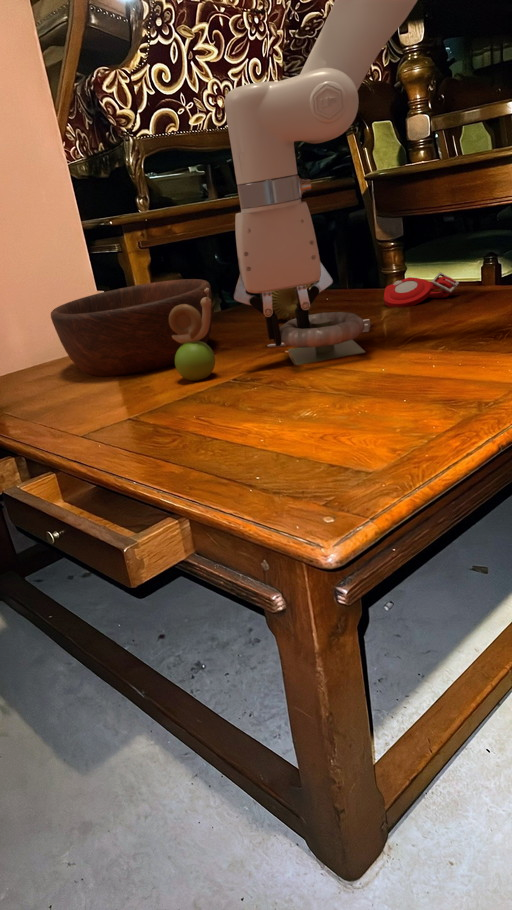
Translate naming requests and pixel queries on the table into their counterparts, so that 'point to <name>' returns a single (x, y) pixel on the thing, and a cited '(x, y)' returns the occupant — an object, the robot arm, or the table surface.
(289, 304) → the sculpture
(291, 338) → the bracelet
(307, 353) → the stand
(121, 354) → the wooden bowl
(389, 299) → the tracker holder
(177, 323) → the snail figurine
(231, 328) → the table surface
